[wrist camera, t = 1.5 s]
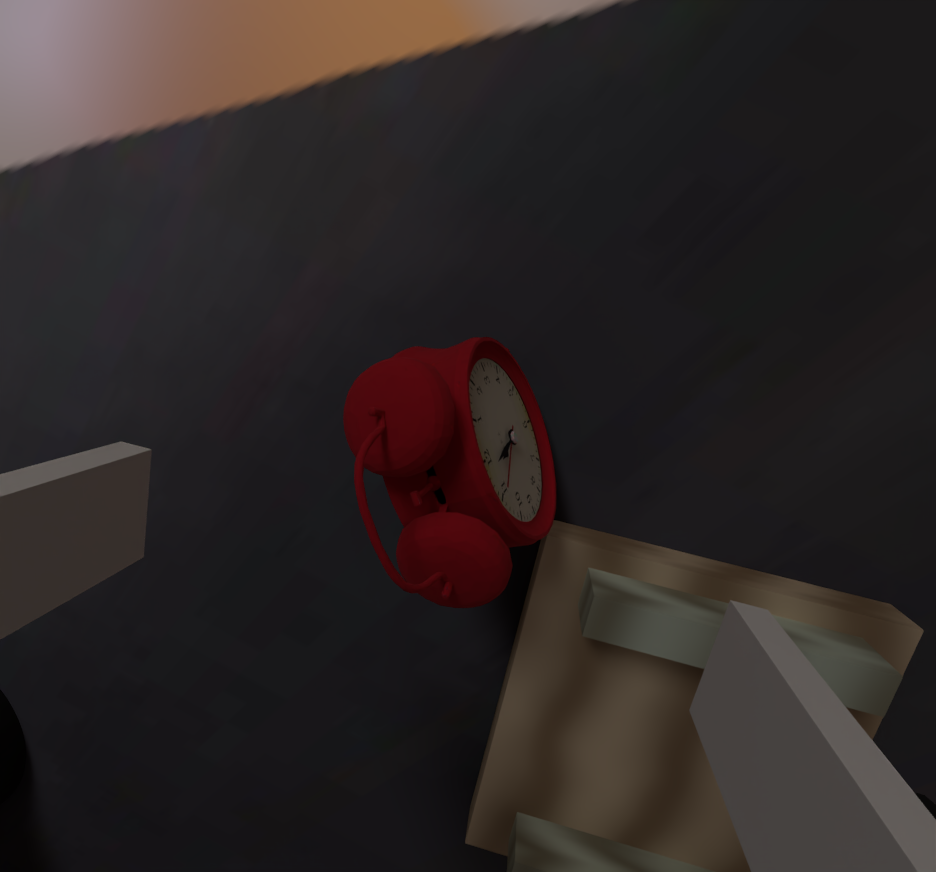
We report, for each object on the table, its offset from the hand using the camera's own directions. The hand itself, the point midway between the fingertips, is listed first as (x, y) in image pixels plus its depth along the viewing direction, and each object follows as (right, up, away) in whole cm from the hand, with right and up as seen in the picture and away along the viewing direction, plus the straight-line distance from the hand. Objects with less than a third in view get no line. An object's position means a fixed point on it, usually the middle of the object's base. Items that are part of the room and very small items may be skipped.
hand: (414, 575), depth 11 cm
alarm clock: (+2, +4, +18) cm, 18 cm away
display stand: (+13, -14, +20) cm, 27 cm away
